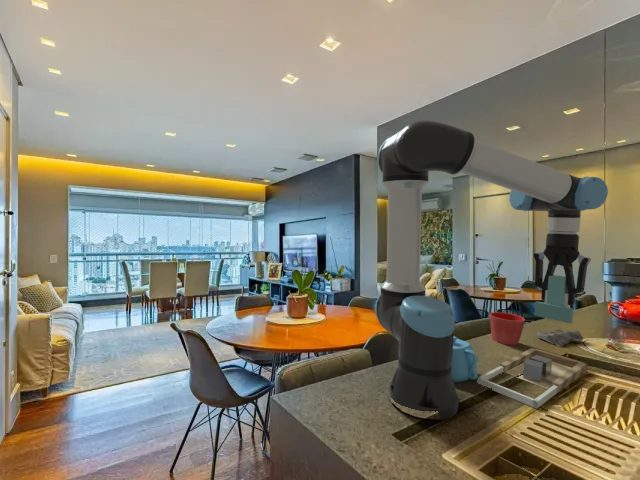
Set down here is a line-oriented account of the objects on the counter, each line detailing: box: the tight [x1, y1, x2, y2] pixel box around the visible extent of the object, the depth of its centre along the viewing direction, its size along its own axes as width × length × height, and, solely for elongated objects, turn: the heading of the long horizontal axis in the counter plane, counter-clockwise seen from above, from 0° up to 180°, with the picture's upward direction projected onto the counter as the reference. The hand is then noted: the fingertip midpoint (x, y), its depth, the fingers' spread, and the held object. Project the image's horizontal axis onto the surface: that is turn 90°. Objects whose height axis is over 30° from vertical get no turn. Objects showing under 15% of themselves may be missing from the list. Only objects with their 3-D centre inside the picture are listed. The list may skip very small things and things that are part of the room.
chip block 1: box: [523, 359, 543, 383], centre depth 90 cm, size 4×4×4 cm
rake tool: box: [534, 274, 575, 324], centre depth 97 cm, size 5×9×12 cm, turn 37°
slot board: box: [499, 347, 588, 394], centre depth 95 cm, size 22×14×3 cm, turn 127°
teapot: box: [451, 335, 479, 383], centre depth 93 cm, size 13×11×18 cm
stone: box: [536, 328, 584, 347], centre depth 123 cm, size 15×10×4 cm, turn 108°
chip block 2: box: [530, 355, 552, 378], centre depth 93 cm, size 4×4×4 cm
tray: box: [476, 365, 558, 409], centre depth 84 cm, size 12×14×2 cm
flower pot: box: [488, 311, 526, 346], centre depth 118 cm, size 11×11×10 cm
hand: (556, 313), depth 98 cm, fingers closed on rake tool, 4 cm apart
